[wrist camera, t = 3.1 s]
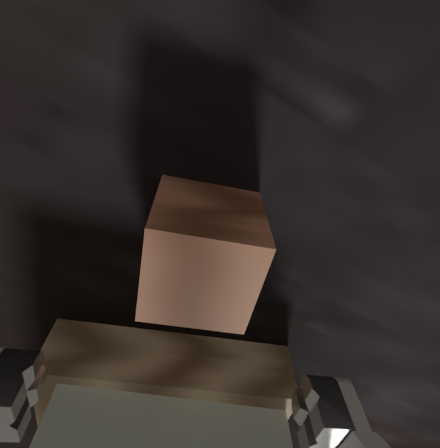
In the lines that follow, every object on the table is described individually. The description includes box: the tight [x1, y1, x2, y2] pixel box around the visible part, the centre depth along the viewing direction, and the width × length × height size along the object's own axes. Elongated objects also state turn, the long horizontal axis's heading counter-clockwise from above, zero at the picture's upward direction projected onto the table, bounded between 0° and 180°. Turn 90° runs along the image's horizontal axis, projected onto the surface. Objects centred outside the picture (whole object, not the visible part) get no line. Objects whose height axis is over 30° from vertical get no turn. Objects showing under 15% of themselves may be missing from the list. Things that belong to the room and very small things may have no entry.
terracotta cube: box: [135, 175, 276, 335], centre depth 15 cm, size 5×5×5 cm
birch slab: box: [34, 318, 297, 426], centre depth 25 cm, size 16×16×4 cm
